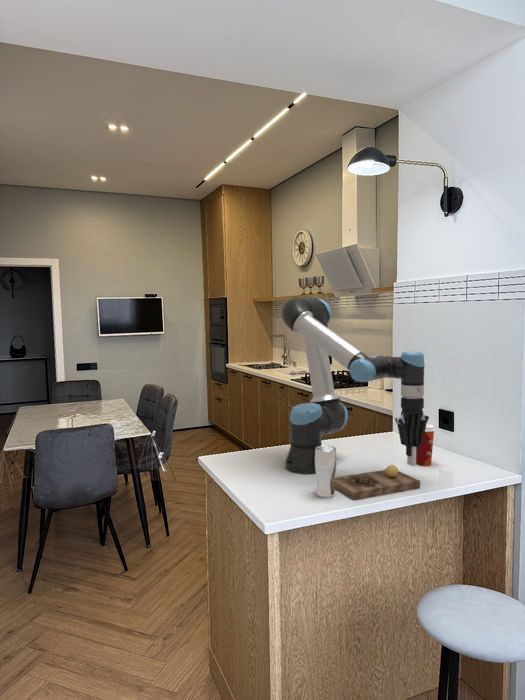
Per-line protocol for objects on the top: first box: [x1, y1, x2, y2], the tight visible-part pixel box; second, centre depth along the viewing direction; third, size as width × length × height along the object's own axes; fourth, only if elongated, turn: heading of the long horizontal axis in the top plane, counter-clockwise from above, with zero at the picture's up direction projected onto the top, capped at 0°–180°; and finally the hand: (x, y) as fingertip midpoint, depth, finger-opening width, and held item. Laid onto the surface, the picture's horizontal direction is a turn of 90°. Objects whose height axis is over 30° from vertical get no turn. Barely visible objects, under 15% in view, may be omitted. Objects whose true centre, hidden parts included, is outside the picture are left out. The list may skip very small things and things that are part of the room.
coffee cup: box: [416, 423, 436, 467], centre depth 188 cm, size 8×8×15 cm
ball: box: [385, 464, 399, 477], centre depth 166 cm, size 4×4×4 cm
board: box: [334, 469, 421, 501], centre depth 163 cm, size 26×14×2 cm, turn 114°
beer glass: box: [315, 444, 338, 499], centre depth 156 cm, size 7×7×15 cm
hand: (411, 464), depth 168 cm, fingers closed
